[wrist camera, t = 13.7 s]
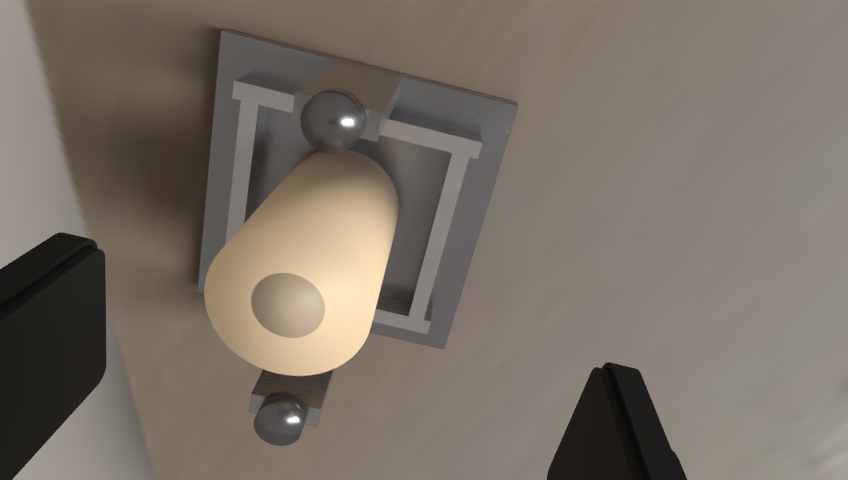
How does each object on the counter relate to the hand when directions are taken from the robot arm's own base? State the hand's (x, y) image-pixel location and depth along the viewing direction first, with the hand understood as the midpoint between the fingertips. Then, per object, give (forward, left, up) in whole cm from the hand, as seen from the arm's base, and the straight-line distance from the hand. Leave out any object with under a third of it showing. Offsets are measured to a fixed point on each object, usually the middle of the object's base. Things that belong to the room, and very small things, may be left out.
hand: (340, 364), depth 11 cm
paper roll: (+3, +5, -19) cm, 19 cm away
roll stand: (+2, +5, -20) cm, 20 cm away
